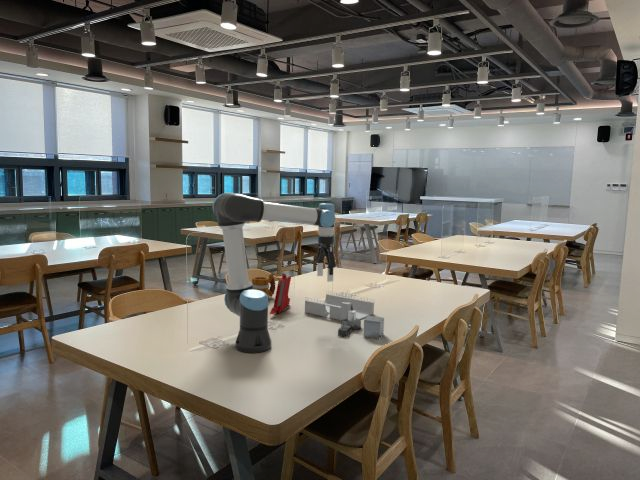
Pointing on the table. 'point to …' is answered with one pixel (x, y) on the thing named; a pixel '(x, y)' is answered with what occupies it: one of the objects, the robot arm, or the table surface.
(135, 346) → the table surface
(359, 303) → the skate ramp
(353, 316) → the ratchet
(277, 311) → the tool
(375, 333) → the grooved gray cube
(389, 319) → the table surface
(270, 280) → the mug
